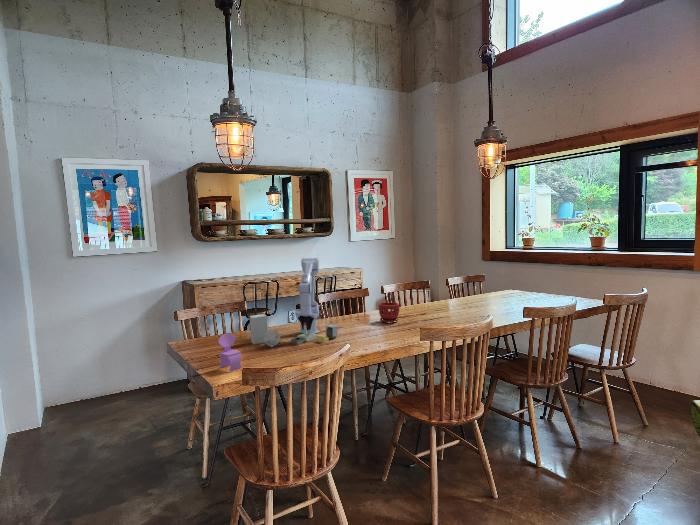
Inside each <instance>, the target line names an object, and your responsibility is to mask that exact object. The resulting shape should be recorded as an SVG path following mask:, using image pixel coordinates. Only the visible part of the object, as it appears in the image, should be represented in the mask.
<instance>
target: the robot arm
mask: <svg viewBox="0 0 700 525" xmlns="http://www.w3.org/2000/svg"><path fill="white" fill-rule="evenodd" d="M300 263H301V264H300V265H301V268H302V271H303V274H302V275H301V280H300V284H298V292H299V293H298V294H299V295H298V296H299V303H300V311H295V312H294V314H295V316H296V317H297V316H298V317H297V320H299V323H300V324H299V325H300V331H299V333H300V334H304V322H306V326H307V330H309V334H315V335H316V334H317V333H321V331H320V330H318V323H317V319H318V317H319V314H320V308H319V307H320V306H319V303H318V302H317V301H315V283H316V280H315V278H316V274H318V273H319V269H320V264H319V263H320V260H319V258H318V257H310V258H309V257H303V258H301V260H300Z"/></svg>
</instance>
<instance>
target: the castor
mask: <svg viewBox="0 0 700 525" xmlns="http://www.w3.org/2000/svg"><path fill="white" fill-rule="evenodd" d="M325 330H326V331H325V336H326V338H329V339H334V340H335V339H336V338H337V336H338V325H337V324H328V325H325Z"/></svg>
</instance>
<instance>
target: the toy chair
mask: <svg viewBox="0 0 700 525" xmlns="http://www.w3.org/2000/svg"><path fill="white" fill-rule="evenodd" d="M235 342H236V336H235V335H234V334H231V333H224V334H222V335H221V336H220V337H219V338H218V340H217V343H218V344H219V346H221V347H222V348H223V351H221V352H219V358H220V363H219V367H218V369H223V368H225V366H226V367H229V366H230V368H229V370H228V372H229V371H231V372H234V371H233V370H235V371H237V370H236V369H238V370H241V369H243V367H242V364H241V361H242V352H241V351H240V350H236V349H231V347H232V346H233V345H234V344H235ZM222 367H223V368H222ZM240 368H241V369H240Z"/></svg>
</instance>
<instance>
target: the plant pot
mask: <svg viewBox="0 0 700 525" xmlns="http://www.w3.org/2000/svg"><path fill="white" fill-rule="evenodd" d="M378 312H379V316H380V319H379V321H380V322H381V321H383V322H394V321H397V322H398V321H399V314H400V303H398V302H389V301H388V302H380V303H379V304H378ZM382 319H383V320H382ZM396 319H397V320H396ZM383 322H382V323H383Z"/></svg>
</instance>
